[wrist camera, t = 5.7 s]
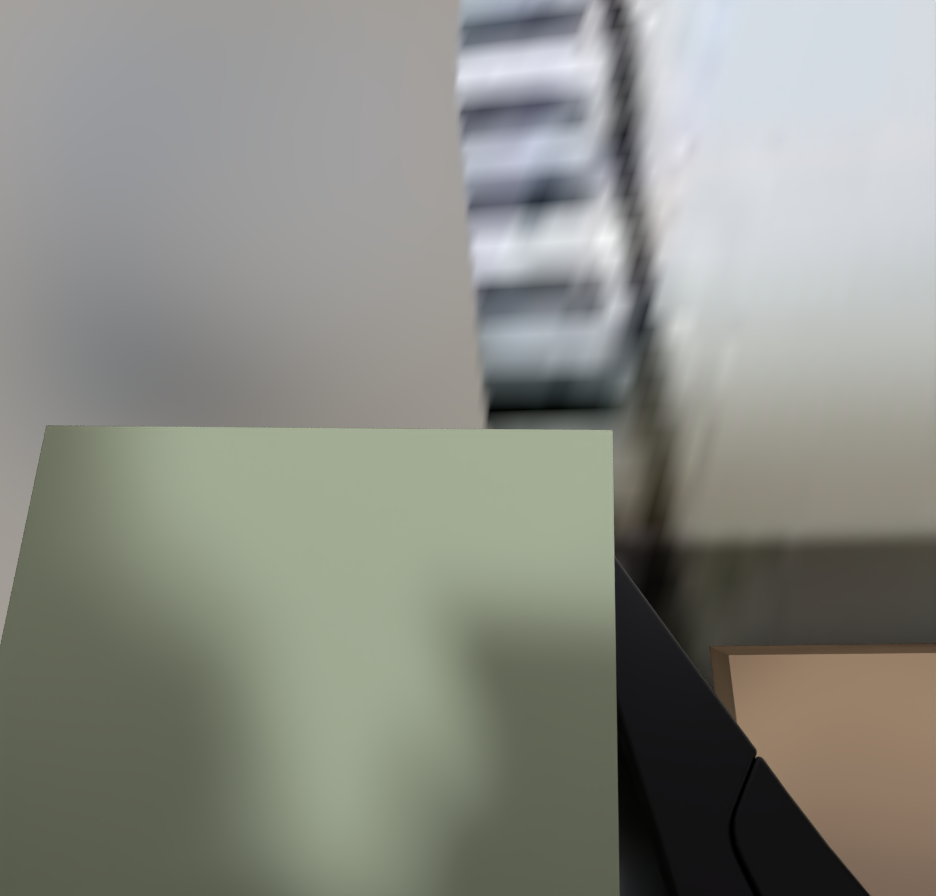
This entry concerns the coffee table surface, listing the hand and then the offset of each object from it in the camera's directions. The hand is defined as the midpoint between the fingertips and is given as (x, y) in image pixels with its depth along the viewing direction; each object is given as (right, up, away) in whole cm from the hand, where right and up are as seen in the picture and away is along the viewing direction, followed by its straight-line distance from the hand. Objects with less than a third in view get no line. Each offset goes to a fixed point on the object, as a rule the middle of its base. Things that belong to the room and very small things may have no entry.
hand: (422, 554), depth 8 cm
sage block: (+1, -3, +6) cm, 7 cm away
